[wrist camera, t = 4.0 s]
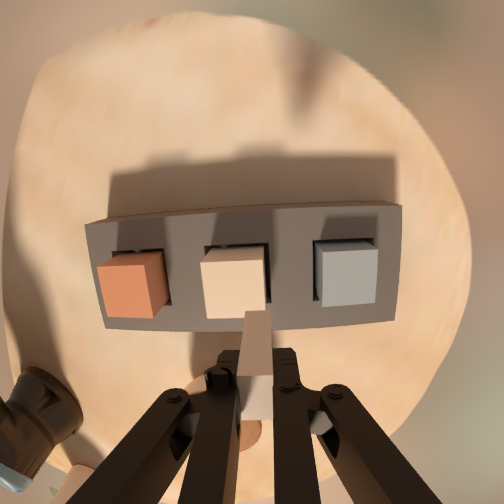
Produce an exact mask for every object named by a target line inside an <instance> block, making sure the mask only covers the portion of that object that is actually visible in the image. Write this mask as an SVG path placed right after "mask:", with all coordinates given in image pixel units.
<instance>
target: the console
mask: <svg viewBox="0 0 504 504" xmlns="http://www.w3.org/2000/svg"><path fill="white" fill-rule="evenodd" d="M85 231H86V238H87V245H88V251H89V257H90V262H91V267H92V273H93V278H94V282H95V287H96V292H97V296H98V300H99V305H100V309H101V313H102V317H103V321H104V324H105V328H107V329H123V330H143V331H175V332H238V331H243V325H244V318H216V319H207V314H206V306H205V299H204V291H203V283H202V274H201V265H200V262H201V261H202V260H203V258H204V257H205V256H206V255H207V253H208V252H209V251H210V250H211V248H227V247H247V246H264V261H265V279H266V310H270V317H271V330H291V329H308V328H322V327H335V326H346V325H357V324H367V323H376V322H385V321H393V320H394V319H395V312H396V303H397V294H398V284H399V272H400V258H401V238H402V205H398V204H394V203H390V202H385V201H355V202H317V203H292V204H271V205H253V206H237V207H222V208H208V209H195V210H183V211H172V212H161V213H151V214H141V215H131V216H122V217H113V218H106V219H103V220H99V221H96V222H93V223H89V224H86V225H85ZM352 238H363V239H364V240H365V241H367V242H368V243H370V244H371V245H373V246H374V247H376V248H377V249H378V266H377V282H376V296H375V303H367V304H356V305H344V306H331V307H322V305H321V303H320V300H319V298H318V295H317V292H316V290H315V271H314V240H330V239H352ZM153 251H163V254H164V261H165V269H166V275H167V282H168V289H169V295H170V298H169V299H168V301H167V302H166V303H165V304H164V306H163V307H162V308H161V309H160V311H159V312H158V313H157V315H156V316H155V317H154V318H126V317H108V316H107V312H106V308H105V304H104V300H103V295H102V291H101V286H100V281H99V276H98V271H97V266H99V265H101V264H102V263H104V262H106V261H108V260H109V259H111V258H113V257H115V256H116V255H118V254H120V253H135V252H153Z"/></svg>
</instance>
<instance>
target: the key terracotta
mask: <svg viewBox="0 0 504 504" xmlns="http://www.w3.org/2000/svg"><path fill="white" fill-rule="evenodd" d="M97 271H98V276H99V281H100V286H101V291H102V295H103V300H104V304H105V308H106V312H107V316H108V317H126V318H154V317H155V316H156V315H157V313H158V312H159V311H160V309H161V308H162V307H163V306H164V304H165V303H166V302H167V301H168V299H169V298H170V295H169V289H168V282H167V275H166V269H165V261H164V254H163V251H153V252H135V253H120V254H118V255H116V256H115V257H113V258H111V259H109V260H108V261H106V262H104V263H102V264H101V265H99V266H97Z"/></svg>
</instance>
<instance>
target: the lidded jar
mask: <svg viewBox="0 0 504 504" xmlns="http://www.w3.org/2000/svg"><path fill="white" fill-rule="evenodd" d="M206 389H207V388H206V383H205V377H204V375H201V376H199V377H197V378H196V379H194V380H193V381H191V382H190V383H189V384H188V385H187V386H186V388H185V389H184V390H186V391H187V392H188V394H189V395H193V394H198V393H202V392H204V391H206ZM240 422H241V436H240V448H239V452H241V451H244V450H246V449H248V448H250V447H251V446H253V445H254V444H255V443H256V442H257V441H258V439H259V438H260V435H261V428H262V424H261V420H240Z"/></svg>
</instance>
